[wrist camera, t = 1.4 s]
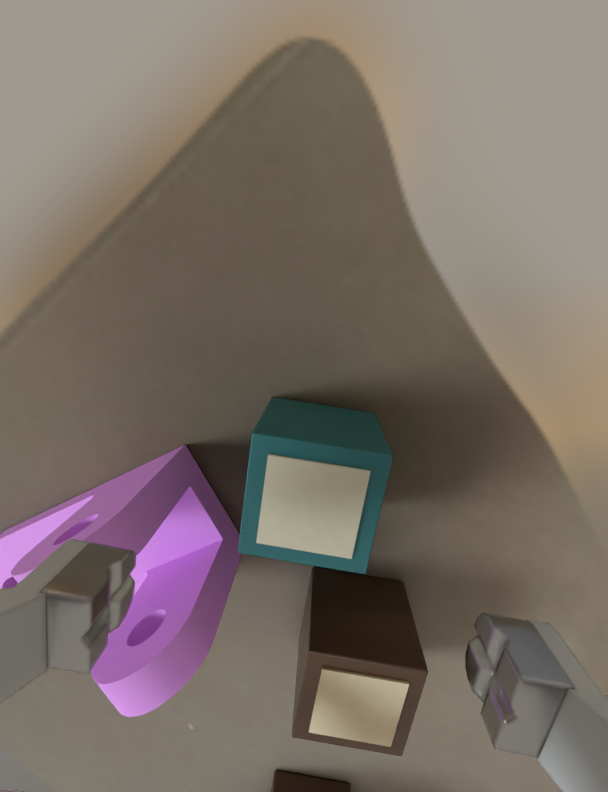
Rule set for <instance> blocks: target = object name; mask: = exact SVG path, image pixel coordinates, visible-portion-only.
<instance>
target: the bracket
mask: <svg viewBox="0 0 608 792" xmlns="http://www.w3.org/2000/svg"><path fill="white" fill-rule="evenodd" d="M239 536H240V534H239V533H238V531H237V529H236V528H235V526H234V524H233V523H232V521H231V519H230V518H229V516H228V514H227V513H226V511H225V510H224V508H223V506H222V505H221V503H220V501H219V500H218V498H217V496H216V495H215V493H214V491H213V490H212V488H211V486H210V485H209V483H208V481H207V480H206V478H205V477H204V475H203V473H202V472H201V470H200V468H199V467H198V465H197V463H196V462H195V460H194V458H193V457H192V455H191V453H190V452H189V450H188V448H187V447H186V445H183V446H181V447H179V448H177V449H175V450H173V451H171V452H169V453H167V454H164V455H162V456H160V457H158V458H156V459H154V460H152V461H150V462H148V463H146V464H143V465H141V466H139V467H137V468H135V469H133V470H131V471H129V472H127V473H124V474H122V475H120V476H118V477H116V478H114V479H112V480H110V481H108V482H106V483H103V484H101V485H99V486H97V487H95V488H93V489H91V490H89V491H87V492H85V493H82V494H80V495H78V496H76V497H74V498H72V499H70V500H68V501H66V502H64V503H61V504H59V505H57V506H55V507H53V508H51V509H49V510H47V511H45V512H43V513H40V514H38V515H36V516H34V517H32V518H30V519H28V520H26V521H24V522H21V523H19V524H17V525H15V526H13V527H11V528H9V529H7V530H5V531H4V532H3V533H1V534H0V589H2V588H5V587H9V588H14V587H15V586H16V585H17V584H18V583H19V582H20V581H21V580H23V579H24V578H25V577H26V576H27V575H28V574H29V573H30V572H32V571H33V570H34V569H35V568H36V567H37V566H38V565H39V564H40V563H42V562H43V561H44V560H45V559H46V558H47V557H48V556H49V555H51V554H52V553H53V552H54V551H55V550H56V549H57V548H58V547H60V546H61V545H62V544H63V543H64V542H65V541H67V540H70V539H77V540H81V541H86V542H91V543H98V544H103V545H108V546H113V547H118V548H123V549H128V550H133V551H134V552H135V553H136V566H135V568H134V569H133V571H132V572H131V573H130V575H131V576H132V578H133V579H134V581H135V590H134V595H133V599H132V603H131V605H130V608H129V610H128V613H127V615H126V617H125V618H124V620H123V622H122V623H121V625H120V626H119V627H118V628H116V629H115V630H113V631H111V632H110V634H109V635H108V645H107V647H106V648H105V650H104V651H103V653H102V654H101V656H100V657H99V659H98V660H97V662H96V663H95V665H94V667H93V668H92V677H93V679H94V681H95V682H96V683H97V684H98V686H99V687H100V688H101V690H102V691H103V692H104V693H105V695H106V696H107V697H108V699H109V700H110V701H111V702H112V704H113V705H114V706H115V707H116V709H117V710H118V711H119V713H120V714H122V715H124V716H127V717H136V716H140V715H143V714H146V713H148V712H150V711H152V710H154V709H156V708H157V707H159V706H160V705H162V704H163V703H165V702H166V701H167V700H169V699H170V698H171V697H172V696H173V695H175V694H176V693H177V692H178V691H179V690H180V689H181V688H182V687H183V686H184V685H185V684H186V683H187V682H188V681H189V679H190V678H191V677H192V676H193V675H194V673H195V672H196V671H197V669H198V668H199V667H200V665H201V664H202V662H203V661H204V659H205V657H206V655H207V654H208V652H209V650H210V648H211V645H212V643H213V640H214V637H215V634H216V631H217V628H218V625H219V622H220V619H221V616H222V613H223V610H224V607H225V604H226V601H227V598H228V595H229V592H230V589H231V586H232V583H233V580H234V577H235V574H236V571H237V568H238V565H239V562H240V559H241V556H242V553H238V544H239Z"/></svg>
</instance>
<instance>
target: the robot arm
mask: <svg viewBox="0 0 608 792" xmlns="http://www.w3.org/2000/svg"><path fill="white" fill-rule="evenodd" d="M135 566H136V553H135V552H134V551H133V550H128V549H123V548H118V547H113V546H108V545H103V544H98V543H91V542H86V541H81V540H77V539H70V540H67V541H65V542H64V543H63V544H62V545H61V546H60V547H58V548H57V549H56V550H55V551H54V552H53V553H52V554H51V555H49V556H48V557H47V558H46V559H45V560H44V561H43V562H42V563H40V564H39V565H38V566H37V567H36V568H35V569H34V570H33V571H32V572H30V573H29V574H28V575H27V576H26V577H25V578H24V579H23V580H21V581H20V582H19V583H18V584H17V585H16V586H15V587H14V588H9V587H5V588H2V589H0V703H2V702H3V701H5V700H6V699H7V698H9V697H10V696H12V695H13V694H15V693H16V692H17V691H19V690H20V689H22V688H23V687H24V686H26V685H27V684H29V683H30V682H31V681H33V680H34V679H36V678H37V677H39V676H40V675H41V674H43V673H44V672H46V670H47V668H50V669H56V670H63V671H70V672H76V673H83V674H89V673H90V671H91V670H92V668H93V667H94V665H95V663H96V662H97V660H98V659H99V657H100V656H101V654H102V653H103V651H104V650H105V648H106V647H107V645H108V633H110V632H111V631H113V630H115V629H116V628H118V627H119V626H120V625H121V623H122V622H123V620H124V618H125V617H126V615H127V613H128V610H129V608H130V605H131V603H132V599H133V595H134V590H135V581H134V579H133V578H132V576H131V575H130V573H131V572H132V571H133V569H134V568H135ZM474 627H475V629H476V631H477V633H478V635H477V636H476V637H475V638H473V639H472V640H471V641H469V643H468V647H467V650H466V672H467V677H468V681H469V683H470V686H471V689H472V691H473V692H474V693H475V694H476V695H477V697H478V698H479V699H480V700H481V701H482V702H483V703H484V704H483V707H482V710H481V715H482V718H483V720H484V723H485V725H486V728H487V731H488V733H489V736H490V738H491V741H492V744H493V746H494V749H496V750H501V751H506V752H510V753H515V754H519V755H524V756H529V757H533V758H538V762H539V764H540V765H541V766H542V767H543V768H544V770H545V771H546V772H547V773H548V775H549V776H550V777H551V778H552V780H553V781H554V782H555V783H556V784H557V786H558V787H559V788H560V789H561V791H562V792H608V696H607V695H603V694H602V693H601V691H600V690H599V689H598V687H597V686H596V684H595V683H594V682H593V680H592V679H591V677H590V676H589V675H588V673H587V672H586V671H585V669H584V668H583V666H582V665H581V664H580V662H579V661H578V659H577V658H576V657H575V655H574V654H573V652H572V651H571V650H570V648H569V647H568V645H567V644H566V643H565V641H564V640H563V639H562V637H561V636H560V634H559V633H558V632H557V630H556V629H555V628H554V627H553V626H552V625H550V624H549V623H545V622H538V621H532V620H522V619H517V618H511V617H505V616H499V615H493V614H487V613H481V614H480V615H479V616H478V617H477V620H476V622H475V625H474ZM0 792H23V791H18V790H12V789H7V788H2V787H0Z"/></svg>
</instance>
